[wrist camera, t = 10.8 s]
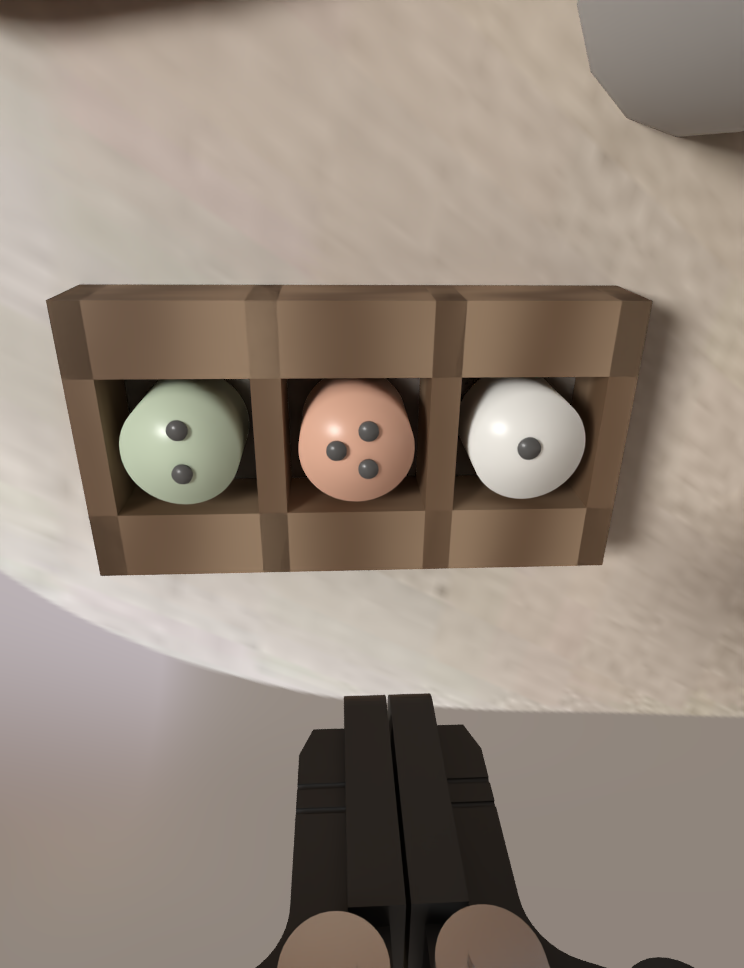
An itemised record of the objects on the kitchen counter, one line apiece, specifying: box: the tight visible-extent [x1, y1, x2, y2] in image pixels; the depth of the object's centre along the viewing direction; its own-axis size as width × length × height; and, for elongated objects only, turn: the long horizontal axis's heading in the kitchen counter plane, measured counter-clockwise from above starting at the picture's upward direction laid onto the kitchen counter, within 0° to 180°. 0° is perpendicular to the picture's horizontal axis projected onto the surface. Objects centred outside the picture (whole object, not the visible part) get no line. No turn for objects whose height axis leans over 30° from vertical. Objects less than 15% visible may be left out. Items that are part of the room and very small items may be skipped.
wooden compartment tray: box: [46, 285, 652, 576], centre depth 24 cm, size 19×10×3 cm, turn 89°
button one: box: [458, 377, 585, 499], centre depth 24 cm, size 4×4×3 cm
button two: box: [119, 379, 249, 504], centre depth 24 cm, size 4×4×3 cm
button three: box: [299, 378, 415, 501], centre depth 24 cm, size 4×4×3 cm
